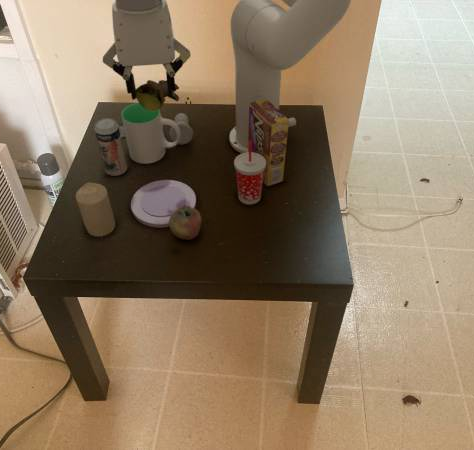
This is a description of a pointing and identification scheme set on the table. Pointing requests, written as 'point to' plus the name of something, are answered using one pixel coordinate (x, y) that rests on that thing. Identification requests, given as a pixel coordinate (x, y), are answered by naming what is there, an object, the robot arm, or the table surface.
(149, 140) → the mug
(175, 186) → the dish
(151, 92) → the toy
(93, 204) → the candle
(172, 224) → the apple
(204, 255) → the table surface
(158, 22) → the robot arm
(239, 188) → the beverage cup
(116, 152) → the canister with white lid
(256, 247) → the table surface
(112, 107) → the table surface
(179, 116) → the chess piece
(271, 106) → the candy box
